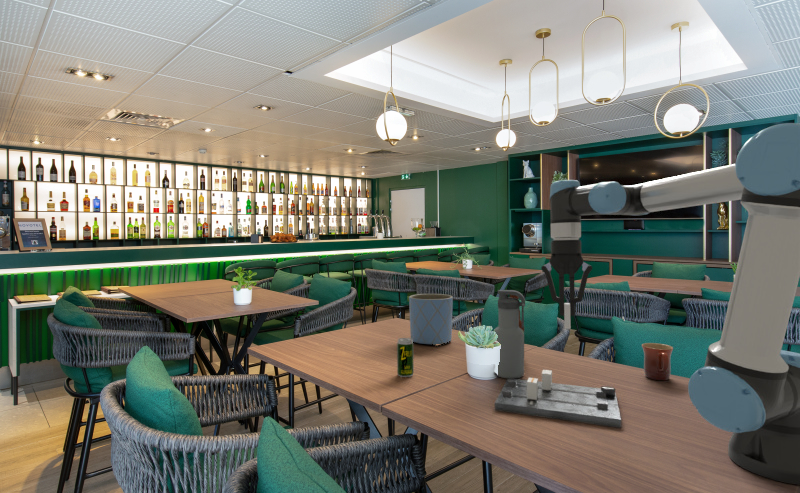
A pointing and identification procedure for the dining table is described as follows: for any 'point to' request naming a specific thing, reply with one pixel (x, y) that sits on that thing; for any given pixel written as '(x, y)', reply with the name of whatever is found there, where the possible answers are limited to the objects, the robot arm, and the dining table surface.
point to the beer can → (405, 357)
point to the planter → (431, 318)
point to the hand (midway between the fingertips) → (567, 328)
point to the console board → (562, 402)
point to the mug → (657, 361)
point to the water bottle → (510, 335)
